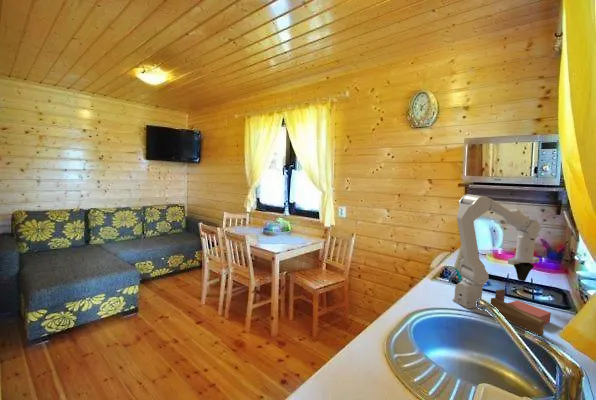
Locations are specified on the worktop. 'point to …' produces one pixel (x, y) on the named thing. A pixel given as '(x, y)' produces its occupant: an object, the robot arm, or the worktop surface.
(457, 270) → the stick construction toy
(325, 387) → the worktop surface
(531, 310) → the reddish rectangular block
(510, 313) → the shelf wall
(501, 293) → the bookend
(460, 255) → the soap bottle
